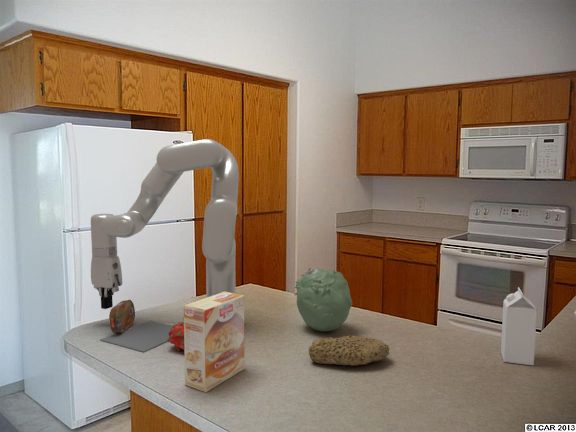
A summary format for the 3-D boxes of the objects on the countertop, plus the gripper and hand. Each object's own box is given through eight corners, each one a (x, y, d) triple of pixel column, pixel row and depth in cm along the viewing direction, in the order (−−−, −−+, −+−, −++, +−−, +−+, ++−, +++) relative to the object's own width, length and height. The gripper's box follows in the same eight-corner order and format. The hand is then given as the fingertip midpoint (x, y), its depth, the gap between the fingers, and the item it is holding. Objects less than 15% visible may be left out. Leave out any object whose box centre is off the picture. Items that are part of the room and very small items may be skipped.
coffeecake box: (206, 393, 104) (204, 309, 102) (183, 385, 108) (181, 304, 106) (246, 369, 116) (245, 294, 114) (224, 362, 120) (223, 290, 118)
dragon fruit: (168, 350, 132) (204, 361, 129) (156, 342, 125) (194, 354, 122) (179, 322, 136) (215, 332, 133) (168, 313, 129) (206, 324, 125)
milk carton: (529, 355, 125) (532, 288, 123) (533, 366, 118) (537, 294, 116) (500, 352, 127) (504, 285, 125) (503, 362, 120) (507, 292, 118)
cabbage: (343, 343, 134) (344, 276, 132) (285, 333, 142) (285, 270, 140) (359, 326, 148) (360, 266, 146) (305, 318, 156) (306, 261, 154)
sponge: (309, 372, 117) (386, 367, 111) (304, 341, 118) (380, 334, 112) (322, 362, 130) (393, 356, 123) (318, 334, 131) (388, 327, 124)
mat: (191, 330, 144) (191, 329, 144) (143, 352, 127) (143, 351, 127) (150, 321, 153) (150, 320, 153) (100, 340, 136) (99, 339, 136)
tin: (119, 336, 138) (116, 309, 137) (108, 337, 138) (106, 309, 137) (136, 321, 153) (134, 296, 152) (127, 321, 153) (125, 297, 152)
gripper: (130, 252, 146) (132, 308, 148) (99, 248, 153) (101, 301, 155) (110, 256, 139) (113, 314, 141) (79, 252, 147) (81, 307, 149)
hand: (106, 307), depth 148 cm, fingers closed
